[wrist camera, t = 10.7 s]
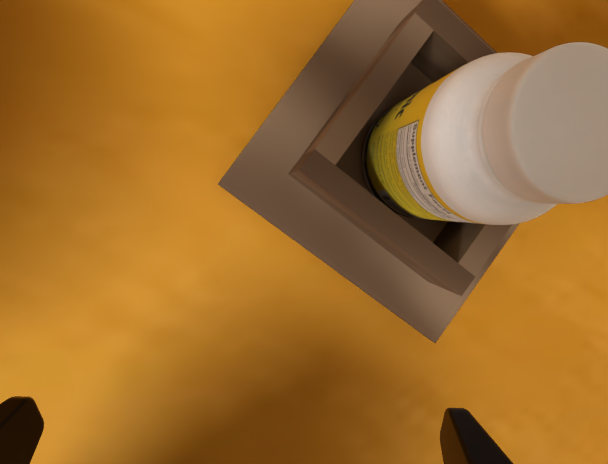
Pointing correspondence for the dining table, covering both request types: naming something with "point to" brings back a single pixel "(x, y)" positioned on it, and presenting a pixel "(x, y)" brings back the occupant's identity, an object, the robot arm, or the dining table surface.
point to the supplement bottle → (496, 139)
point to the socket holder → (348, 162)
